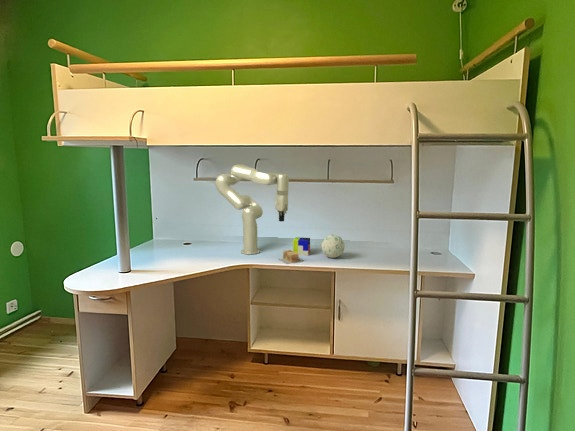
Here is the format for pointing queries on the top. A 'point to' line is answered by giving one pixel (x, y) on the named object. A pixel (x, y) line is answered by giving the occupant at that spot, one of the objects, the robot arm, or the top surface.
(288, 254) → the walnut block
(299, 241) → the puzzle toy
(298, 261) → the rubber mat
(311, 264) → the top surface
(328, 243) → the puzzle ball
